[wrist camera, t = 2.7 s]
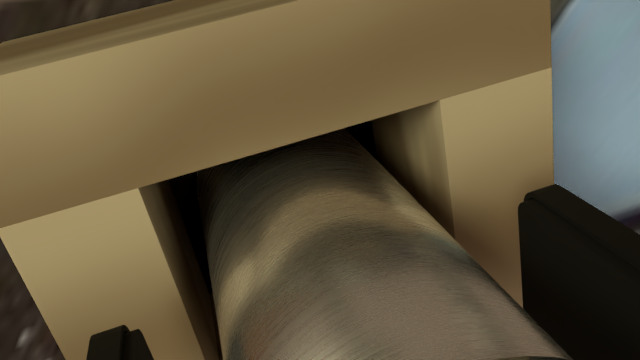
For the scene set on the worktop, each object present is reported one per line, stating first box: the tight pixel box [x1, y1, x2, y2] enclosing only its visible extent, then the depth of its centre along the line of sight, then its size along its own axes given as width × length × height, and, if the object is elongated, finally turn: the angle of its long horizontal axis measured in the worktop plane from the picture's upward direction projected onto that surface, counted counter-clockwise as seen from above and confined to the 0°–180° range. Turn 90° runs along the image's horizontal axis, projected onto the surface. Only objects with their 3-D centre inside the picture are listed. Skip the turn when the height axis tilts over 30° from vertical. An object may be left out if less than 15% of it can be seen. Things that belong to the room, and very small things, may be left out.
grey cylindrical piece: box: [197, 128, 573, 360], centre depth 11 cm, size 5×5×12 cm
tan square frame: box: [0, 0, 554, 360], centre depth 14 cm, size 11×11×5 cm
